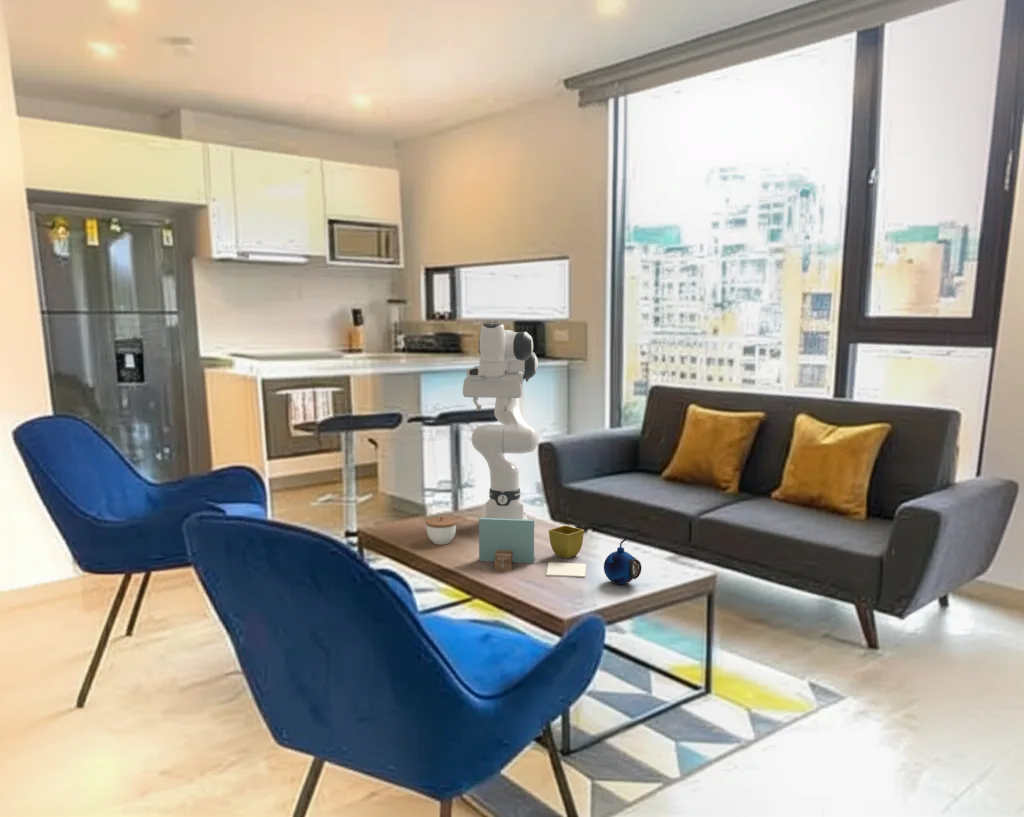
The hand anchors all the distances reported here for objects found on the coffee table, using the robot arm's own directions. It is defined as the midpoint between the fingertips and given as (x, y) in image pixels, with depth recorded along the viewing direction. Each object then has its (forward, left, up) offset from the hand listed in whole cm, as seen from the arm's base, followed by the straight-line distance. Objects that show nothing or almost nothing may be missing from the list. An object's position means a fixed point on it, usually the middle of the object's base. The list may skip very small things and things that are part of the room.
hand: (492, 410), depth 251 cm
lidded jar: (-4, -19, -48) cm, 52 cm away
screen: (+13, +7, -48) cm, 50 cm away
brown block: (+21, +7, -48) cm, 53 cm away
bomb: (+31, +44, -48) cm, 72 cm away
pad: (+21, +27, -48) cm, 59 cm away
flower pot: (+6, +26, -48) cm, 55 cm away
